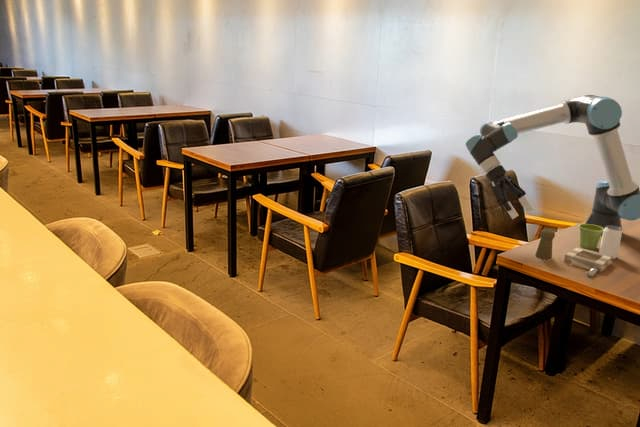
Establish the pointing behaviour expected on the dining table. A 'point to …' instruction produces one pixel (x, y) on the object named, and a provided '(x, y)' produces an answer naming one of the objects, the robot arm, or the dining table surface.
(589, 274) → the steel rod
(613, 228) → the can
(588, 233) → the plant pot
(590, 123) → the robot arm
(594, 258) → the birch socket block
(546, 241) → the olive rounded piece
